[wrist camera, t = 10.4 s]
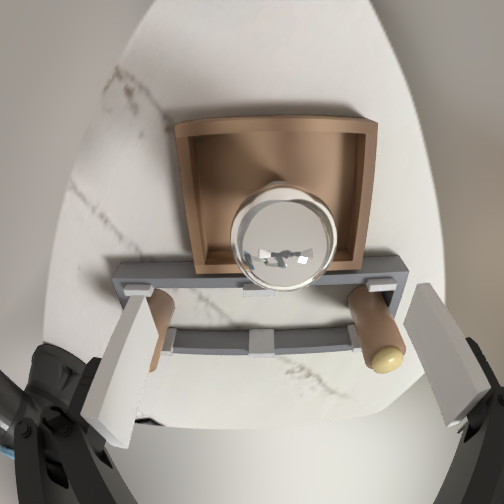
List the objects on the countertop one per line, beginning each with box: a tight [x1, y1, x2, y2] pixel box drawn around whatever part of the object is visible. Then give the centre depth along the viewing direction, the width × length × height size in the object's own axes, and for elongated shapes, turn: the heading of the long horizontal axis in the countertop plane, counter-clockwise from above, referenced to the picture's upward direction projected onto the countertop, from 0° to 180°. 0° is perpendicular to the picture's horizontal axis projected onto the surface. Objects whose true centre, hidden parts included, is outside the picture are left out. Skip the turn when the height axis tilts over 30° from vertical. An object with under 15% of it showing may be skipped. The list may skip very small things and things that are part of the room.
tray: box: [174, 115, 378, 274], centre depth 26 cm, size 16×14×3 cm
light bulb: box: [230, 181, 338, 292], centre depth 21 cm, size 7×7×12 cm
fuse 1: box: [145, 289, 175, 375], centre depth 30 cm, size 4×4×10 cm
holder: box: [111, 256, 409, 358], centre depth 32 cm, size 31×12×4 cm, turn 93°
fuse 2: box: [347, 284, 406, 373], centre depth 29 cm, size 4×4×10 cm
